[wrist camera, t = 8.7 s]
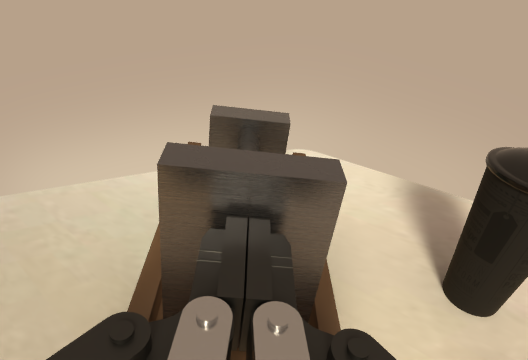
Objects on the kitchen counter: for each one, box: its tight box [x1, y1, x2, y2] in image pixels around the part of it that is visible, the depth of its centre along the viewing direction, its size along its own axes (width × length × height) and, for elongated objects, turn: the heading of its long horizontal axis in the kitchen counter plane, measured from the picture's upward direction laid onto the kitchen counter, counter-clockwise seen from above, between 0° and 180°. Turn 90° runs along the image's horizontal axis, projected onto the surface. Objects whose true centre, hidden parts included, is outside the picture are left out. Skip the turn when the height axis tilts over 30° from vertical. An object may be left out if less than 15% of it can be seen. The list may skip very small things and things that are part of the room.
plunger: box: [157, 105, 347, 348], centre depth 22 cm, size 6×18×9 cm, turn 0°
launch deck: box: [127, 142, 341, 360], centre depth 24 cm, size 10×24×12 cm, turn 0°
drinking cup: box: [443, 147, 528, 317], centre depth 30 cm, size 8×8×20 cm
